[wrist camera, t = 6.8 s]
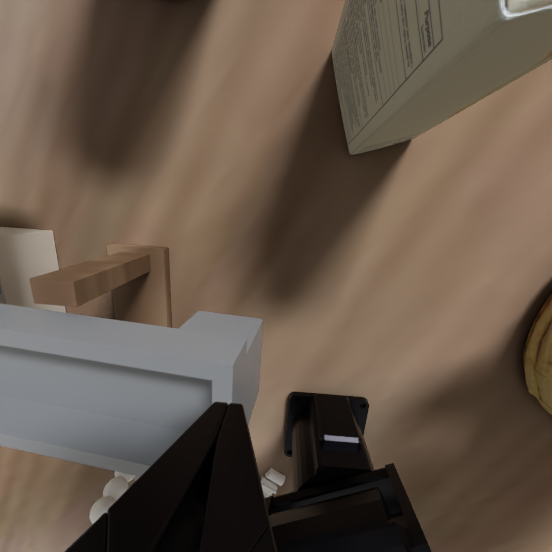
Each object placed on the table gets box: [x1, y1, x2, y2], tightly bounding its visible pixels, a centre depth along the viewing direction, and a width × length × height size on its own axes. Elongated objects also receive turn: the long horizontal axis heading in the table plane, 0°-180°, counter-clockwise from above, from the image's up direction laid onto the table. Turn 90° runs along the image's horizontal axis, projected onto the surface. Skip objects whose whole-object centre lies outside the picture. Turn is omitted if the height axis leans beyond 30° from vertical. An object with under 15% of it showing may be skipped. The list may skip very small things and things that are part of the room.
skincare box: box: [332, 0, 552, 155], centre depth 10 cm, size 6×4×12 cm
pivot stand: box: [29, 244, 172, 328], centre depth 16 cm, size 4×11×8 cm, turn 176°
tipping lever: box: [0, 285, 263, 477], centre depth 13 cm, size 18×16×6 cm
